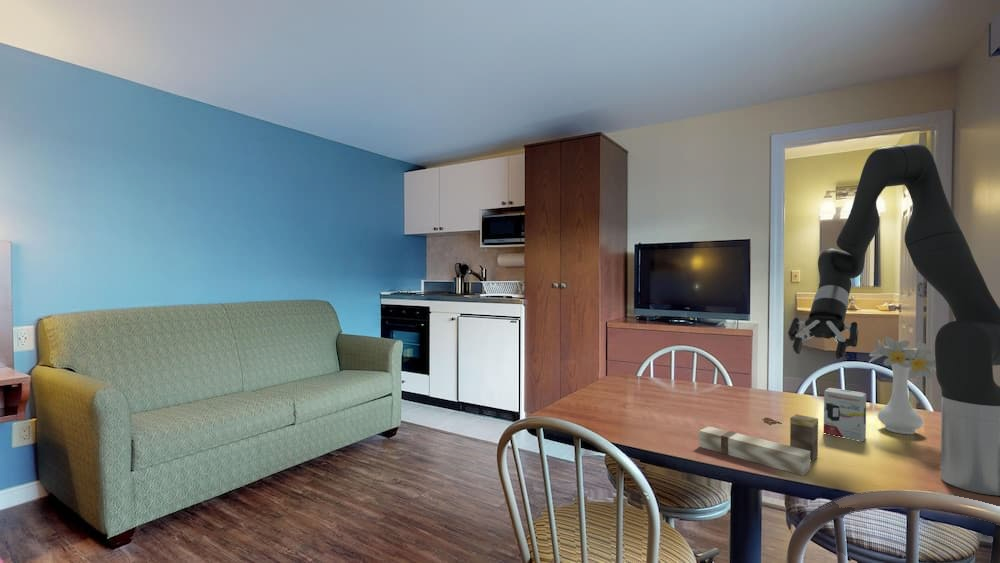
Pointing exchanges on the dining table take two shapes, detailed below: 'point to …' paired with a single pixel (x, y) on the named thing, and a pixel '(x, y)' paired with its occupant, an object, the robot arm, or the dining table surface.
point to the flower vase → (903, 383)
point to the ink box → (845, 413)
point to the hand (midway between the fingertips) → (817, 354)
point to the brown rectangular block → (804, 434)
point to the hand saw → (770, 420)
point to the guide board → (756, 450)
